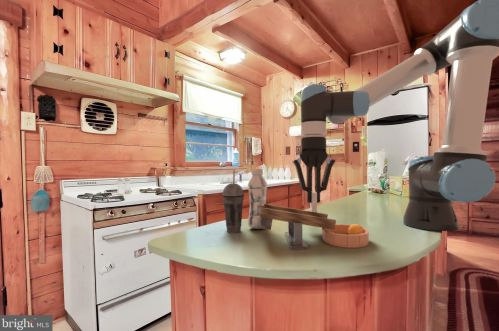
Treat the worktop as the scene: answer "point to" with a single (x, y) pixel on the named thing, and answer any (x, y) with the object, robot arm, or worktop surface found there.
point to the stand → (295, 236)
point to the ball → (355, 229)
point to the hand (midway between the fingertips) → (313, 213)
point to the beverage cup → (233, 205)
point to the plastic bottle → (256, 197)
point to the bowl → (345, 237)
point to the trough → (292, 217)
